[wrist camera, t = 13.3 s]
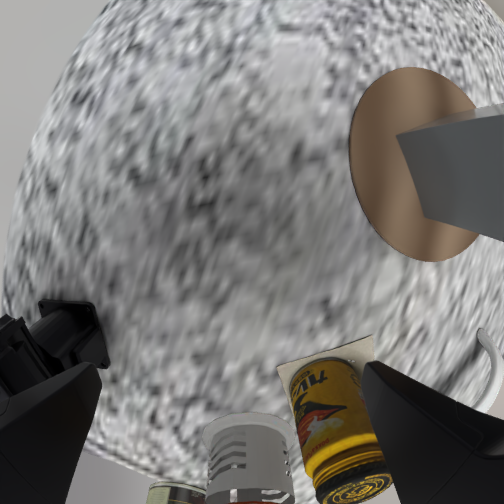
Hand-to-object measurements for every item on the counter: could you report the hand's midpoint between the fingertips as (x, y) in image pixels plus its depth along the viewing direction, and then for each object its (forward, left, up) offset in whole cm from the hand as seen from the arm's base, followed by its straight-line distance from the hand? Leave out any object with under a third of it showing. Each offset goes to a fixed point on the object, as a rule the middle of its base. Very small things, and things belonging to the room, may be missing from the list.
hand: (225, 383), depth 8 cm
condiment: (+8, -11, -12) cm, 18 cm away
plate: (+16, +8, -12) cm, 22 cm away
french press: (0, -20, -12) cm, 23 cm away
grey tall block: (+16, +8, -11) cm, 21 cm away
